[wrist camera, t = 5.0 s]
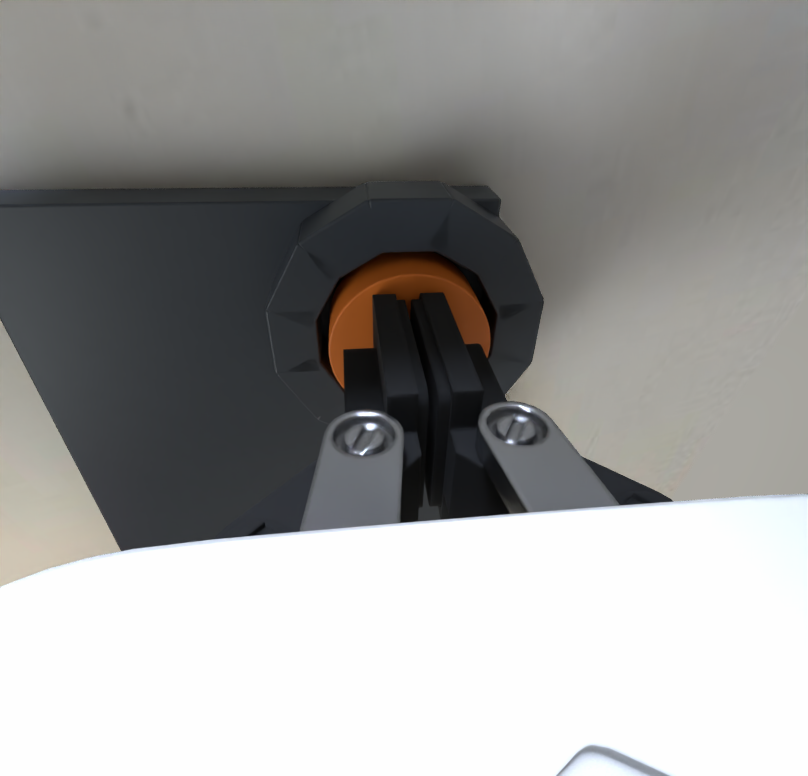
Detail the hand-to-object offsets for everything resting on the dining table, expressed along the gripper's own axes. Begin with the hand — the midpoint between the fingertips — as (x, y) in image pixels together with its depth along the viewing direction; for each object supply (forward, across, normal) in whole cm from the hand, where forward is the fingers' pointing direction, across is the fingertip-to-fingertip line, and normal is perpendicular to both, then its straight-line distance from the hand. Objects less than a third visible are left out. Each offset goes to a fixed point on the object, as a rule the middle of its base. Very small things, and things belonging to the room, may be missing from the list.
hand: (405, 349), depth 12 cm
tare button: (+2, 0, 0) cm, 2 cm away
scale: (+4, +4, +4) cm, 7 cm away
